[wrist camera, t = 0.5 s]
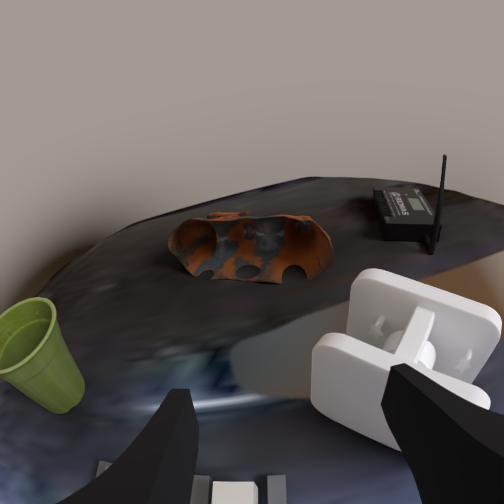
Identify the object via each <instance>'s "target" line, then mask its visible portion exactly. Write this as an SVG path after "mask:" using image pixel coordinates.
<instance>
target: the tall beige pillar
mask: <svg viewBox="0 0 504 504" xmlns="http://www.w3.org/2000/svg"><path fill="white" fill-rule="evenodd" d="M212 504H258V487H257V486H256V485H255V483H254V482H217V481H213V491H212Z"/></svg>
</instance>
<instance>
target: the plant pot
mask: <svg viewBox="0 0 504 504" xmlns="http://www.w3.org/2000/svg"><path fill="white" fill-rule="evenodd" d="M0 378H2V379H3V380H5V381H6V382H9V383H10V384H12V385H13V386H14V387H16V388H17V389H18V390H20V391H21V392H22V393H24V394H25V395H26V396H28V397H29V398H31V399H32V400H34V401H35V402H36V403H38V404H39V405H41V406H42V407H44V408H45V409H47V410H48V411H50V412H52V413H55V414H63V413H66V412H68V411H69V410H70V409H71V408H73V407H74V406H77V405H78V403H79V402H80V401H81V399H82V397H83V395H84V392H85V381H84V379H83V376H82V374H81V373H80V371H79V369H78V367H77V365H76V363H75V362H74V360H73V358H72V356H71V354H70V352H69V350H68V348H67V346H66V344H65V342H64V340H63V337H62V335H61V331H60V327H59V325H58V323H57V320H56V309H55V306H54V304H53V303H52V302H51V301H50V300H48V299H46V298H40V297H36V298H30V299H27V300H24V301H22V302H20V303H17V304H15V305H14V306H13V307H11V308H9V309H8V310H7V311H5V312H4V313H3V314H2V315H1V316H0Z"/></svg>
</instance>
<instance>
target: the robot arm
mask: <svg viewBox="0 0 504 504" xmlns="http://www.w3.org/2000/svg"><path fill="white" fill-rule="evenodd" d="M381 407H382V410H383V413H384V416H385V419H386V422H387V424H388V427H389V429H390V431H391V433H392V434H393V436H394V438H395V440H396V442H397V444H398V446H399V448H400V450H401V452H402V453H403V455H404V457H405V459H406V461H407V463H408V465H409V467H410V469H411V471H412V474H413V476H414V479H415V482H416V485H417V488H418V491H419V494H420V497H421V501H422V504H504V415H502V414H498V413H495V412H493V411H490V410H488V409H485V408H483V407H480V406H478V405H476V404H474V403H471V402H470V401H468V400H466V399H464V398H462V397H460V396H458V395H456V394H455V393H453V392H451V391H449V390H448V389H446V388H444V387H443V386H441V385H439V384H438V383H436V382H435V381H433V380H431V379H430V378H428V377H427V376H425V375H424V374H422V373H420V372H419V371H417V370H416V369H414V368H413V367H411V366H409V365H407V364H406V363H402V364H398V365H394V366H391V367H390V371H389V375H388V379H387V383H386V387H385V391H384V394H383V398H382V401H381ZM198 436H199V425H198V422H197V418H196V414H195V410H194V406H193V402H192V398H191V394H190V390H189V389H171V390H170V391H169V393H168V394H167V396H166V398H165V399H164V401H163V402H162V404H161V405H160V407H159V408H158V410H157V411H156V413H155V414H154V415H153V417H152V418H151V420H150V421H149V422H148V424H147V425H146V426H145V428H144V429H143V430H142V432H141V433H140V434H139V435H138V437H137V438H136V439H135V440H134V441H133V442H132V444H131V445H130V446H129V447H128V448H127V449H126V450H125V452H124V453H123V454H122V455H121V456H120V457H119V458H118V459H117V460H116V461H115V462H114V463H113V464H112V465H110V466H109V467H108V468H107V469H106V470H105V471H104V472H102V473H101V474H100V475H99V476H98V477H96V478H95V479H94V480H93V481H91V482H90V483H89V484H87V485H86V486H85V487H83V488H81V489H80V490H78V491H77V492H75V493H74V494H72V495H70V496H69V497H67V498H65V499H64V500H62V501H60V502H58V503H56V504H190V500H191V493H192V487H193V480H194V474H195V467H196V461H197V454H198Z"/></svg>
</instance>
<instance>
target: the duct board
mask: <svg viewBox="0 0 504 504" xmlns="http://www.w3.org/2000/svg"><path fill="white" fill-rule="evenodd" d="M112 464H113V463H109V462H104V461H99V465H98V469H97V474H96V477H98V476H99V475H100V474H101V473H102V472H104V471H105V470H106V469H107V468H108V467H109V466H110V465H112ZM267 481H268V504H287V494H286V476H285V475H274V476H267ZM211 492H212V478H211V477H210V476H201V475H194V480H193V487H192V493H191V500H190V504H211Z"/></svg>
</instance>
